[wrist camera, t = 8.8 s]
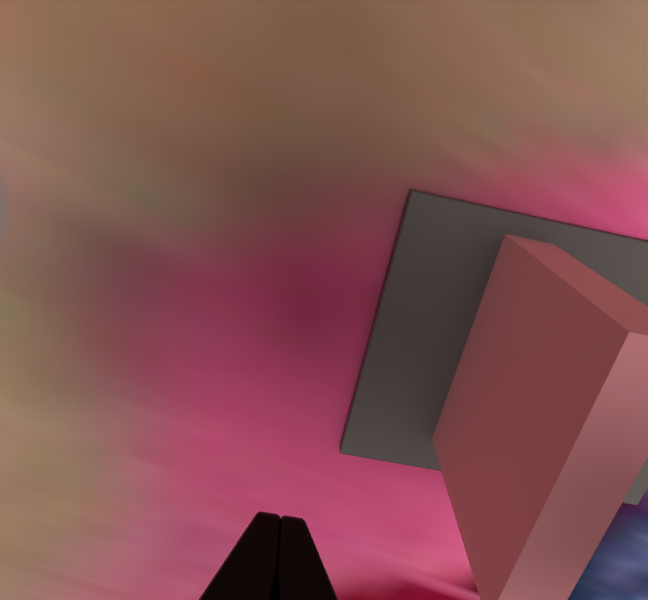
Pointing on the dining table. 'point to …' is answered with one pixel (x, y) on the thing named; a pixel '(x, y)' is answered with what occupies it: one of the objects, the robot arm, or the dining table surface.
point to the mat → (454, 317)
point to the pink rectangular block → (543, 421)
